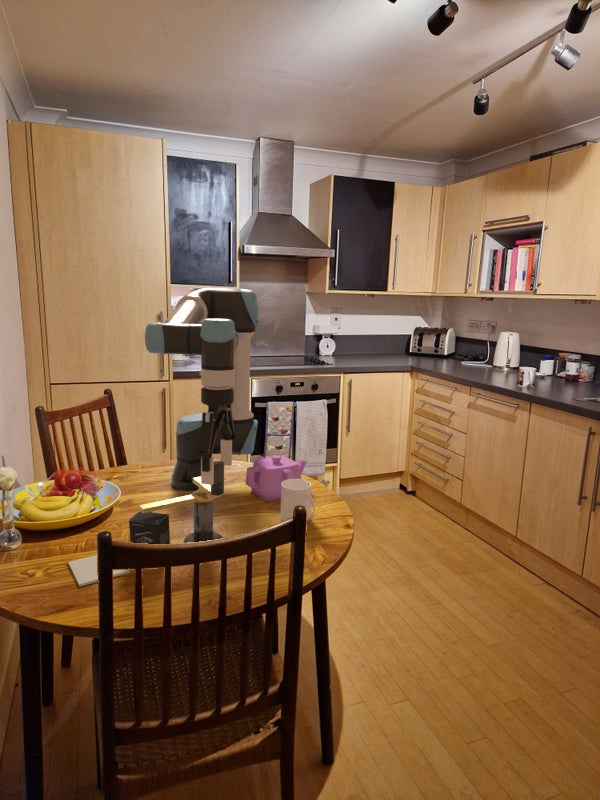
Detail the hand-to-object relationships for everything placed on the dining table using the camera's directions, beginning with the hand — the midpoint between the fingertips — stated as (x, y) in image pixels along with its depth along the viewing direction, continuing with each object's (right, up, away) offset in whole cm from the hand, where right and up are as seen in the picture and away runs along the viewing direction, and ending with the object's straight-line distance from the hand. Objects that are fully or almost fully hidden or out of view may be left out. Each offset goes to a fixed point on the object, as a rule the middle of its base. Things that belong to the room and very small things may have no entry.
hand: (217, 474), depth 123 cm
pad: (-27, -22, -3) cm, 35 cm away
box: (-17, -21, +3) cm, 27 cm away
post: (-5, -19, +11) cm, 23 cm away
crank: (-9, -9, +3) cm, 12 cm away
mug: (+20, -17, +26) cm, 37 cm away
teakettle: (+12, -13, +47) cm, 50 cm away
